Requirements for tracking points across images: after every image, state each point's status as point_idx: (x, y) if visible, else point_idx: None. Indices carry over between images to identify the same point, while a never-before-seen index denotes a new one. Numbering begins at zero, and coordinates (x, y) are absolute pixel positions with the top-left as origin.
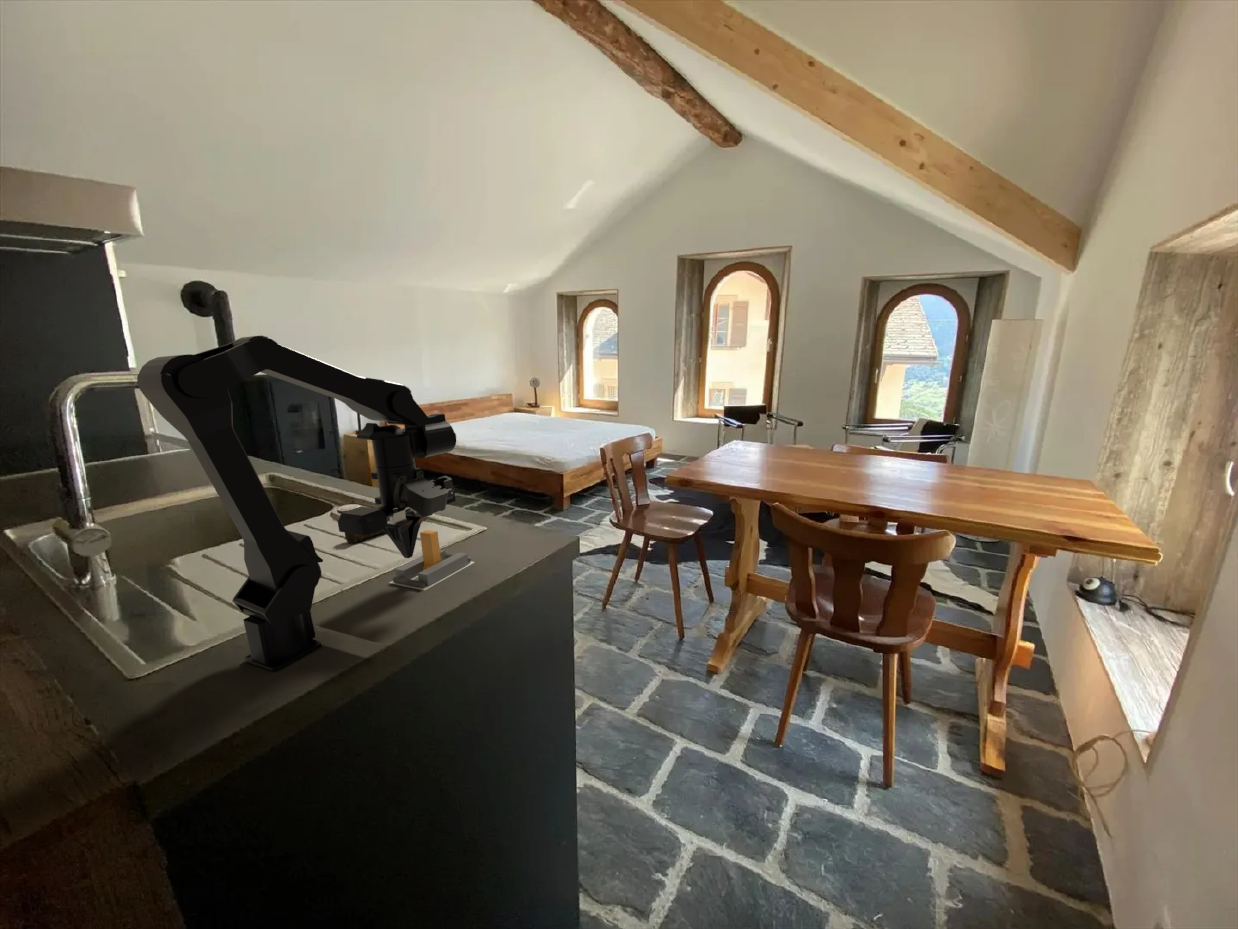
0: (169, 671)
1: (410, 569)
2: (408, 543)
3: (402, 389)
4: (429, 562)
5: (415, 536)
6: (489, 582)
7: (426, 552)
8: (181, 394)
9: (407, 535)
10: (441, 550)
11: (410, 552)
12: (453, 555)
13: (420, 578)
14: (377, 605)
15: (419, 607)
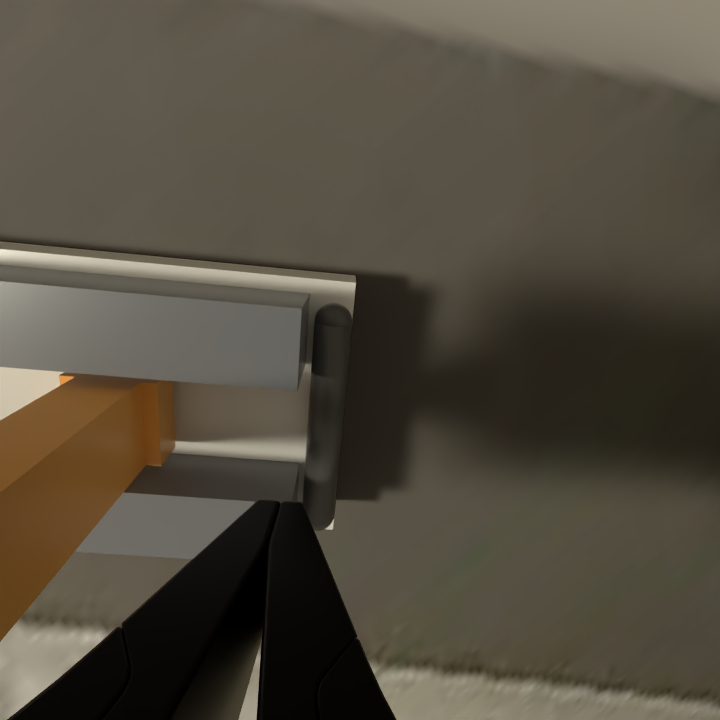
0: None
1: (239, 492)
2: (292, 597)
3: None
4: (128, 433)
5: (148, 635)
6: (31, 4)
7: (87, 492)
8: None
9: (295, 710)
10: None
11: (277, 523)
12: None
13: (301, 362)
14: (467, 453)
15: (445, 240)
